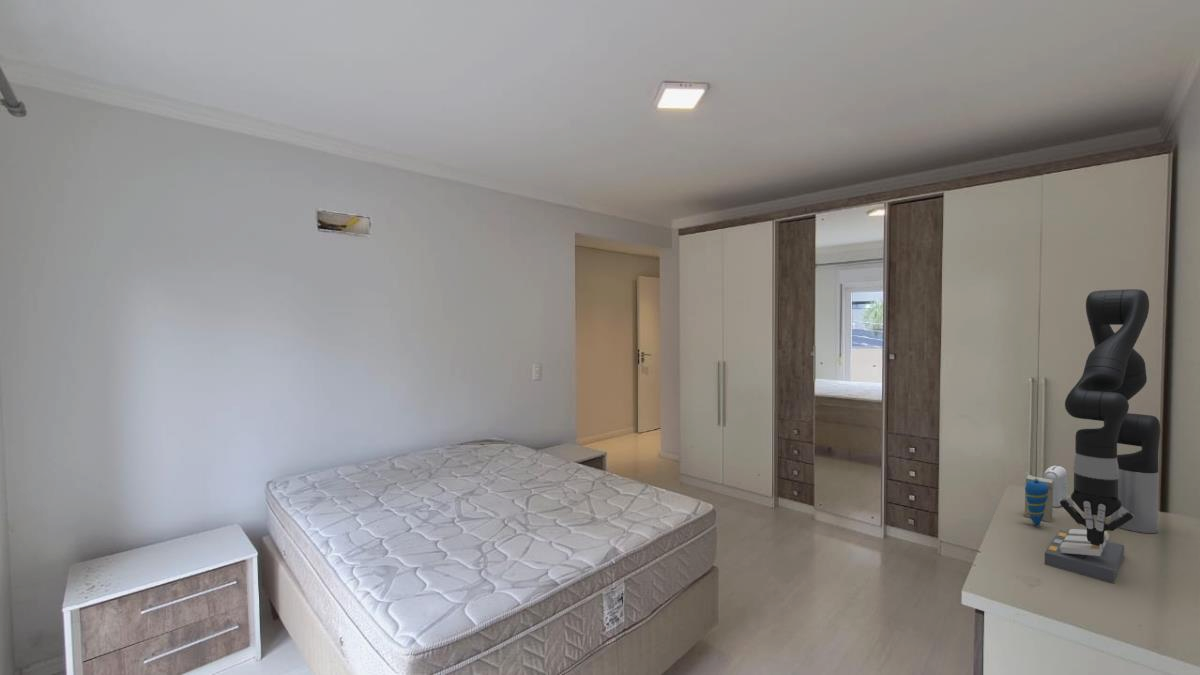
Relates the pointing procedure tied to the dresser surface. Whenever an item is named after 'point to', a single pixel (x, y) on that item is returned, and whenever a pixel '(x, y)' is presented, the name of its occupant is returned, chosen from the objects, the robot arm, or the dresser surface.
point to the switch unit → (1086, 559)
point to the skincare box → (1049, 501)
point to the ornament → (1036, 499)
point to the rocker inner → (1084, 533)
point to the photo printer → (1057, 483)
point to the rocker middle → (1080, 540)
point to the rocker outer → (1081, 549)
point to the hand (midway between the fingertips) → (1095, 544)
